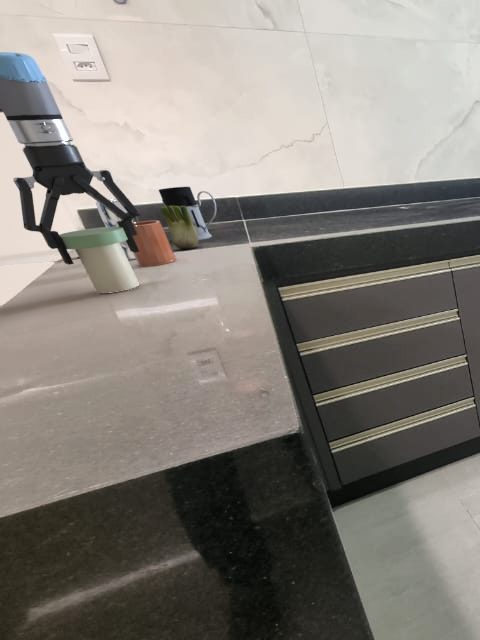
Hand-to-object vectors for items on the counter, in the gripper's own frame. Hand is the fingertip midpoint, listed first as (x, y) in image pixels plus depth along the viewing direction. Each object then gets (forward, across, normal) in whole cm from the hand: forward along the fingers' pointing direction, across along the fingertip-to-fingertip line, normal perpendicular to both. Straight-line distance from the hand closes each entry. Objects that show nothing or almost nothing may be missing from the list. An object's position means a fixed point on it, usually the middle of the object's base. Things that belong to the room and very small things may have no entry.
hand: (103, 257), depth 112 cm
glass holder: (+7, +34, +48) cm, 59 cm away
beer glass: (+7, +14, +36) cm, 39 cm away
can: (+7, 0, 0) cm, 7 cm away
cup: (+7, +14, +22) cm, 27 cm away
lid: (-3, 0, 0) cm, 3 cm away
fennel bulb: (+7, +25, +34) cm, 43 cm away
